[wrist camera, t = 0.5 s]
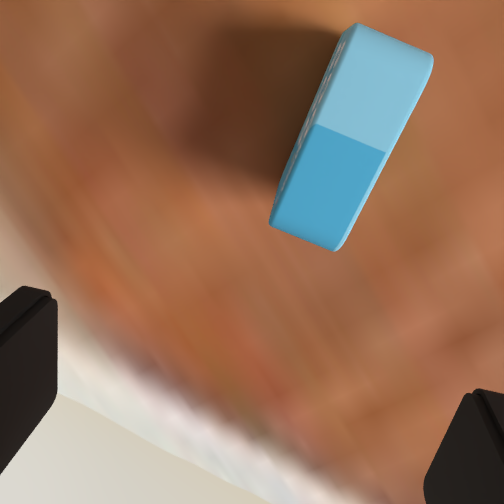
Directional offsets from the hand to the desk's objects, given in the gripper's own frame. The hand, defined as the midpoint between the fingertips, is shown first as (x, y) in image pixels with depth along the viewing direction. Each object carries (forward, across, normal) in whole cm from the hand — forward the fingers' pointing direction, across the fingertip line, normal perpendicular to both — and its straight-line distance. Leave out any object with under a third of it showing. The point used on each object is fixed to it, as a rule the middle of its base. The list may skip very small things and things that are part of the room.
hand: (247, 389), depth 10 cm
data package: (+29, -2, -2) cm, 29 cm away
